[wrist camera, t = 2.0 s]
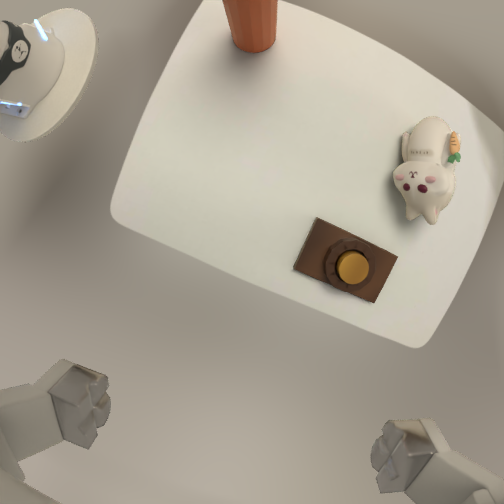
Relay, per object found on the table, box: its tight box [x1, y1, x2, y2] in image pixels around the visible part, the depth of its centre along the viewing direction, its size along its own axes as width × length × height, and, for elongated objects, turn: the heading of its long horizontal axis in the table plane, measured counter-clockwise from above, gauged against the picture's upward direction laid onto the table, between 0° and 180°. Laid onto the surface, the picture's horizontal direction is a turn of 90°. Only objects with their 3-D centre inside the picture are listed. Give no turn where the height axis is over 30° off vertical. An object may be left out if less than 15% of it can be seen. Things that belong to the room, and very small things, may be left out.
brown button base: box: [294, 217, 398, 303], centre depth 41 cm, size 13×8×3 cm, turn 67°
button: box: [336, 251, 369, 284], centre depth 39 cm, size 4×4×2 cm
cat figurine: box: [393, 116, 461, 225], centre depth 35 cm, size 10×8×15 cm
